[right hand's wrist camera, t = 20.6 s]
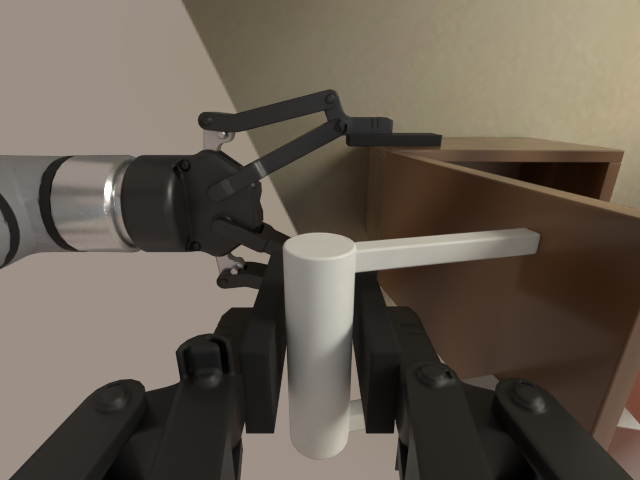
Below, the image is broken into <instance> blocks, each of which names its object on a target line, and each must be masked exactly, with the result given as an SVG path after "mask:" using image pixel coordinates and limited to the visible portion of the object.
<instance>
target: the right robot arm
mask: <svg viewBox="0 0 640 480" xmlns="http://www.w3.org/2000/svg"><path fill="white" fill-rule="evenodd" d="M352 338H353V345H354V352H355V359H356V366H357V373H358V380H359V387H360V394H361V401H362V408H363V415H364V422H365V429H366V433H394V425H395V421H396V425H397V430H398V434H399V438H398V447H397V457H396V466H395V470H399V475H400V480H633V479H632V478H631V477H630V476H629V475H628V473H627V472H626V471H625V470H624V469H623V468H622V467H621V466H620V465H619V464H618V463H617V462H616V461H615V460H614V459H613V458H612V457H611V456H610V455H609V454H608V453H607V452H606V450H605V449H604V448H603V447H602V446H601V445H600V444H599V443H598V442H597V441H596V440H595V439H594V438H593V437H592V436H591V435H590V434H589V433H588V432H587V431H586V430H585V429H584V428H583V426H582V425H581V424H580V423H579V422H578V421H577V420H576V419H575V418H574V417H573V416H572V415H571V414H570V413H569V412H568V411H567V410H566V409H565V408H564V407H563V406H562V405H561V404H560V403H559V401H558V400H557V399H556V398H555V397H554V396H553V395H551V394H550V393H549V392H548V391H547V390H545V389H544V388H543V387H541V386H539V385H537V384H535V383H533V382H530V381H527V380H524V379H520V378H506V379H503V380H500V381H499V382H498V383H497V385H496V387H495V391H494V390H490V389H486V388H481V387H477V386H473V385H470V384H467V383H464V382H462V381H460V379H459V377H458V376H457V374H456V372H455V371H454V370H453V369H451V368H450V367H449V366H448V365H446V364H443V363H441V362H440V359H439V357H438V355H437V353H436V351H435V349H434V347H433V345H432V343H431V341H430V339H429V337H428V334H426V330H425V328H424V326H423V324H422V322H421V320H420V318H419V316H418V314H417V313H415V312H414V311H413V310H412V309H411V308H409V307H386V304H385V301H384V298H383V295H382V292H381V289H380V286H379V283H378V280H377V277H376V274H375V271H367V272H357V273H355V284H354V309H353V334H352ZM286 345H287V341H286V316H285V291H284V267H283V251H272V253H271V256H270V259H269V262H268V265H267V268H266V271H265V274H264V277H263V280H262V283H261V286H260V289H259V292H258V295H257V298H256V301H255V304H254V307H253V308H231V309H230V310H228V311H227V312H226V313H225V314H224V315H222V317H221V319H220V321H219V323H218V326H217V328H216V330H215V332H214V334H203V335H198V336H196V337H193V338H191V339H188V340H187V341H186V342H184V343H183V344H182V345H180V347H179V348H178V349H177V351H176V357H177V363H178V368H179V374H180V382H179V383H177V384H174V385H171V386H168V387H164V388H160V389H156V390H152V391H148V392H145V387H144V386H143V385H142V384H141V382H139V381H136V380H132V379H126V380H118V381H115V382H111V383H108V384H106V385H104V386H103V387H101V388H99V389H97V390H96V391H94V392H93V393H92V394H91V395H90V396H88V397H87V398H86V399H85V400H84V401H83V402H82V403H81V404H80V406H79V407H78V408H77V409H76V410H75V411H74V412H73V413H72V414H71V415H70V416H69V417H68V418H67V419H66V420H65V421H64V422H63V423H62V424H61V425H60V427H59V428H58V429H57V430H56V431H55V432H54V433H53V434H52V435H51V436H50V437H49V438H48V439H47V440H46V441H45V442H44V443H43V444H42V445H41V446H40V448H39V449H38V450H37V451H36V452H35V453H34V454H33V455H32V456H31V457H30V458H29V459H28V460H27V461H26V462H25V463H24V464H23V465H22V466H21V467H20V469H19V470H18V471H17V472H16V473H15V474H14V475H13V476H12V477H11V478H10V479H9V480H240V476H241V464H242V453H243V447H242V438H241V435H242V431H243V427H244V423H245V425H246V433H274V429H275V422H276V415H277V408H278V401H279V394H280V387H281V380H282V373H283V366H284V359H285V352H286Z"/></svg>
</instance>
